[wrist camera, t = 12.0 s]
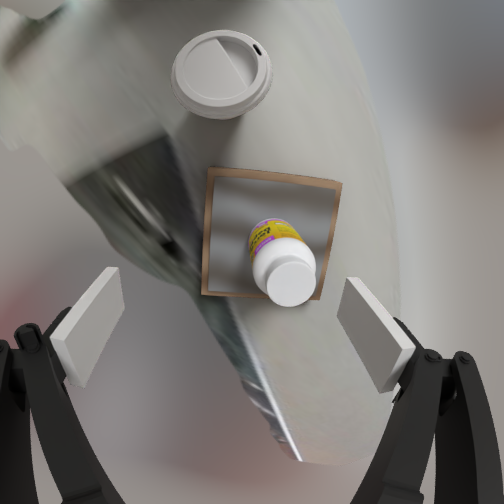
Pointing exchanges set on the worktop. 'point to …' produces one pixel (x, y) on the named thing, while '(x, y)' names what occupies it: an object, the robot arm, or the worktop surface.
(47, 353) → the robot arm
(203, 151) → the worktop surface
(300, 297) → the supplement bottle
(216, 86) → the coffee cup
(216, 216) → the plinth
